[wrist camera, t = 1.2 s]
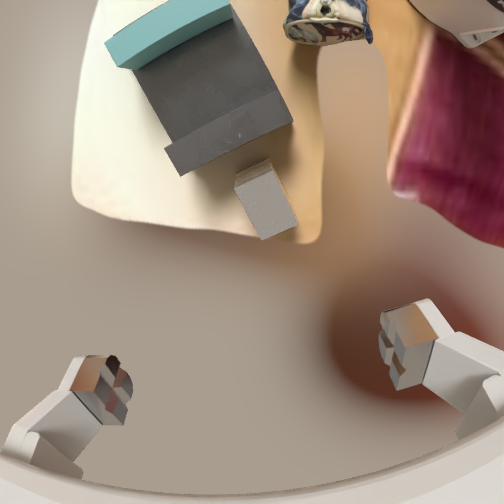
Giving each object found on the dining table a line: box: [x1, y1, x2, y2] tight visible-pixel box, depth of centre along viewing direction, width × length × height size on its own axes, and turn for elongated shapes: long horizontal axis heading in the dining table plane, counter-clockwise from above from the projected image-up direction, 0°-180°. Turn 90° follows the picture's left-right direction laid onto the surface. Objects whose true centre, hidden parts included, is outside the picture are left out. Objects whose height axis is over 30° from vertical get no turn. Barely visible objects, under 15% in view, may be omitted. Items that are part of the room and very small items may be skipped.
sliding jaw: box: [104, 0, 233, 70], centre depth 21 cm, size 11×3×5 cm, turn 116°
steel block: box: [234, 158, 298, 240], centre depth 32 cm, size 4×6×6 cm, turn 26°
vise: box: [113, 0, 293, 177], centre depth 25 cm, size 12×18×7 cm, turn 26°
